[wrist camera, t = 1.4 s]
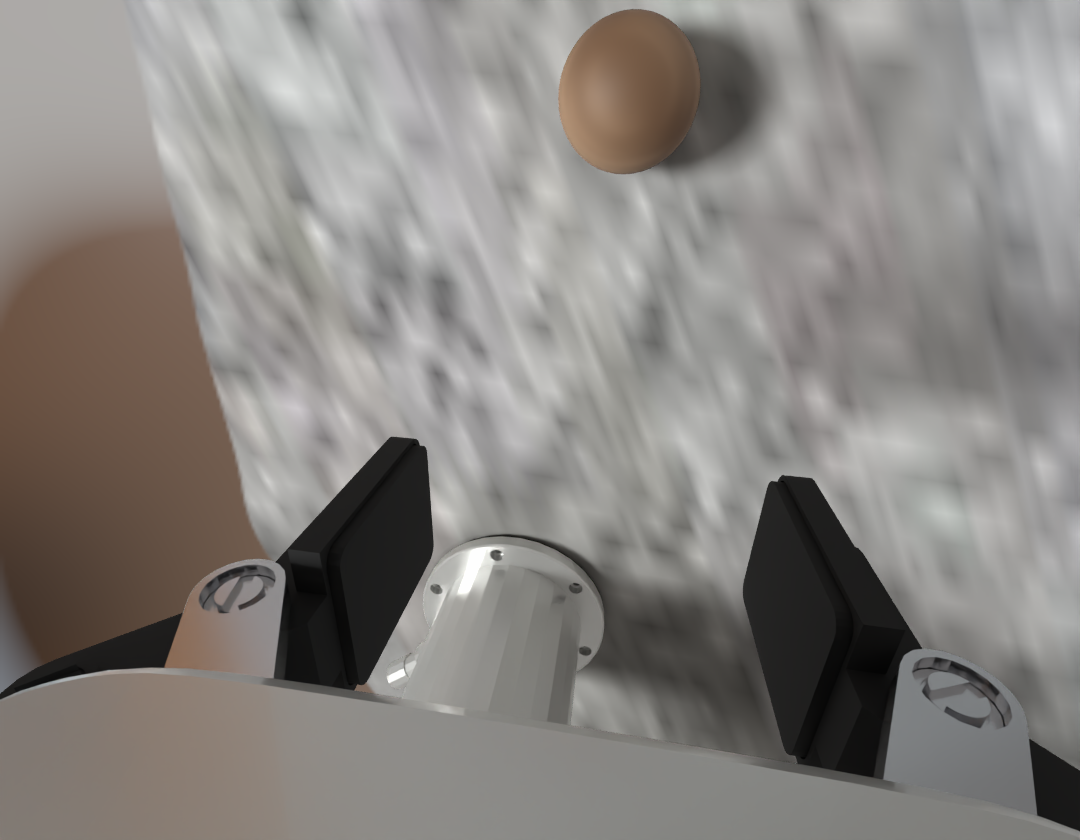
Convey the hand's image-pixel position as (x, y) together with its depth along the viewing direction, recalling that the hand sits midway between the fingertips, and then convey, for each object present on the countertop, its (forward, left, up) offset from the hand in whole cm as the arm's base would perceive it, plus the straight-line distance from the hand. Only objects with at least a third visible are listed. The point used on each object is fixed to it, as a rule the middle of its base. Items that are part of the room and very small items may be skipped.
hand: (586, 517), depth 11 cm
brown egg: (+6, +7, -15) cm, 18 cm away
